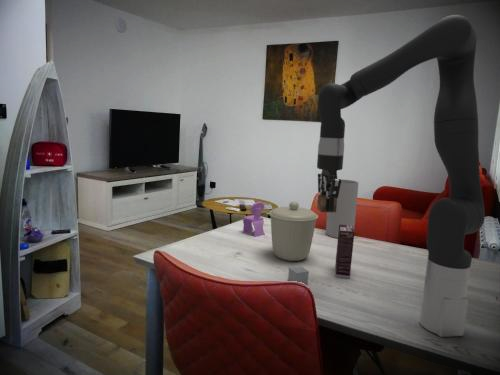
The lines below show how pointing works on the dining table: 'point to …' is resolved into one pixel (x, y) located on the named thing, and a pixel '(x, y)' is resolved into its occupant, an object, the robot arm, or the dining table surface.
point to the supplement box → (344, 251)
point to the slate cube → (298, 274)
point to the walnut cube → (324, 203)
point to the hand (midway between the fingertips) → (326, 209)
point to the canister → (292, 231)
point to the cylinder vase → (343, 208)
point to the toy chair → (254, 219)
